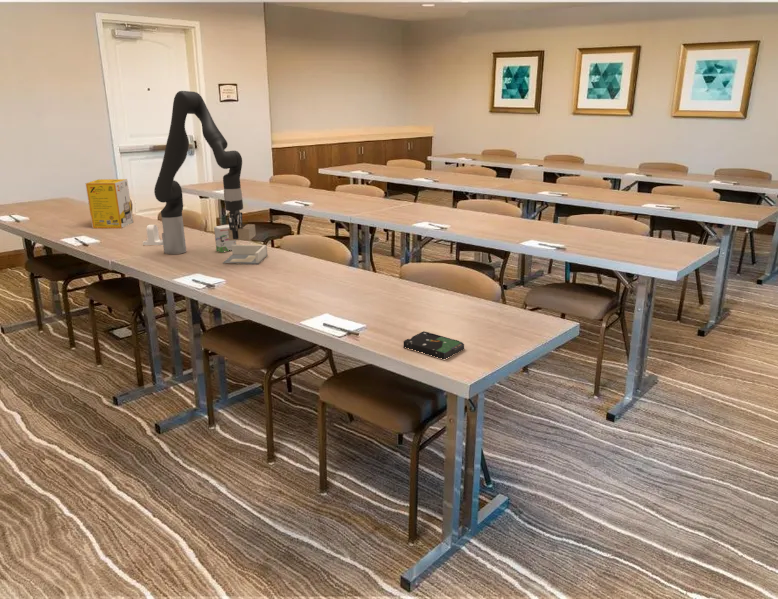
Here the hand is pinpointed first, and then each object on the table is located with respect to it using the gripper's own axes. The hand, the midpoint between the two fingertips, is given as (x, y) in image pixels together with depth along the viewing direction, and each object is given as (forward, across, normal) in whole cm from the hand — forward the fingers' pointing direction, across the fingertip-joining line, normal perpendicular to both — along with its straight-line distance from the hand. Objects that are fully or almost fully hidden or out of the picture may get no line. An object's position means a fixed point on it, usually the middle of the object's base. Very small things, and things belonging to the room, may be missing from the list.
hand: (237, 237), depth 272 cm
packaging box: (+10, -76, -96) cm, 123 cm away
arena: (+11, -4, +2) cm, 12 cm away
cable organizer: (+11, -31, -52) cm, 62 cm away
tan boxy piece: (+1, -3, +1) cm, 3 cm away
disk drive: (+13, +94, +86) cm, 128 cm away
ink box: (+11, -20, -12) cm, 26 cm away
